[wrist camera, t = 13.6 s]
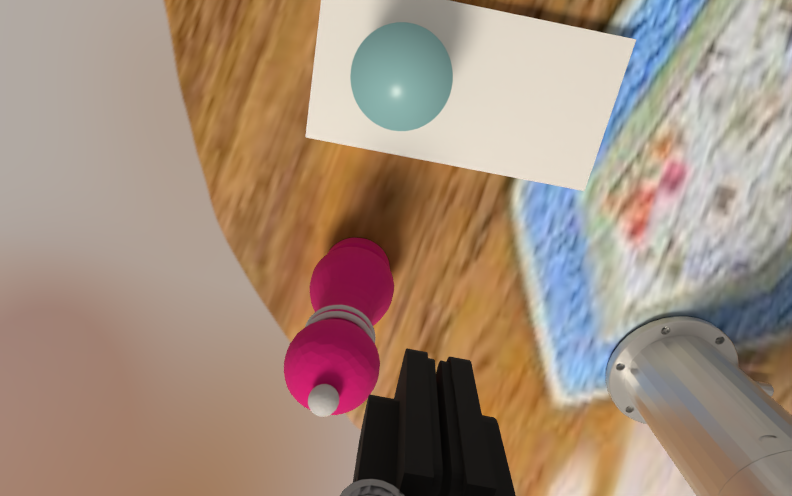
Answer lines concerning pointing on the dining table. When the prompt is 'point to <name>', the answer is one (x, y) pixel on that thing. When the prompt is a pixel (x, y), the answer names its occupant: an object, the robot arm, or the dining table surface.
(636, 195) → the dining table surface
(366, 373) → the pepper mill
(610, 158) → the dining table surface
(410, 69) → the cap
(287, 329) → the dining table surface
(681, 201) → the dining table surface
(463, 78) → the board
